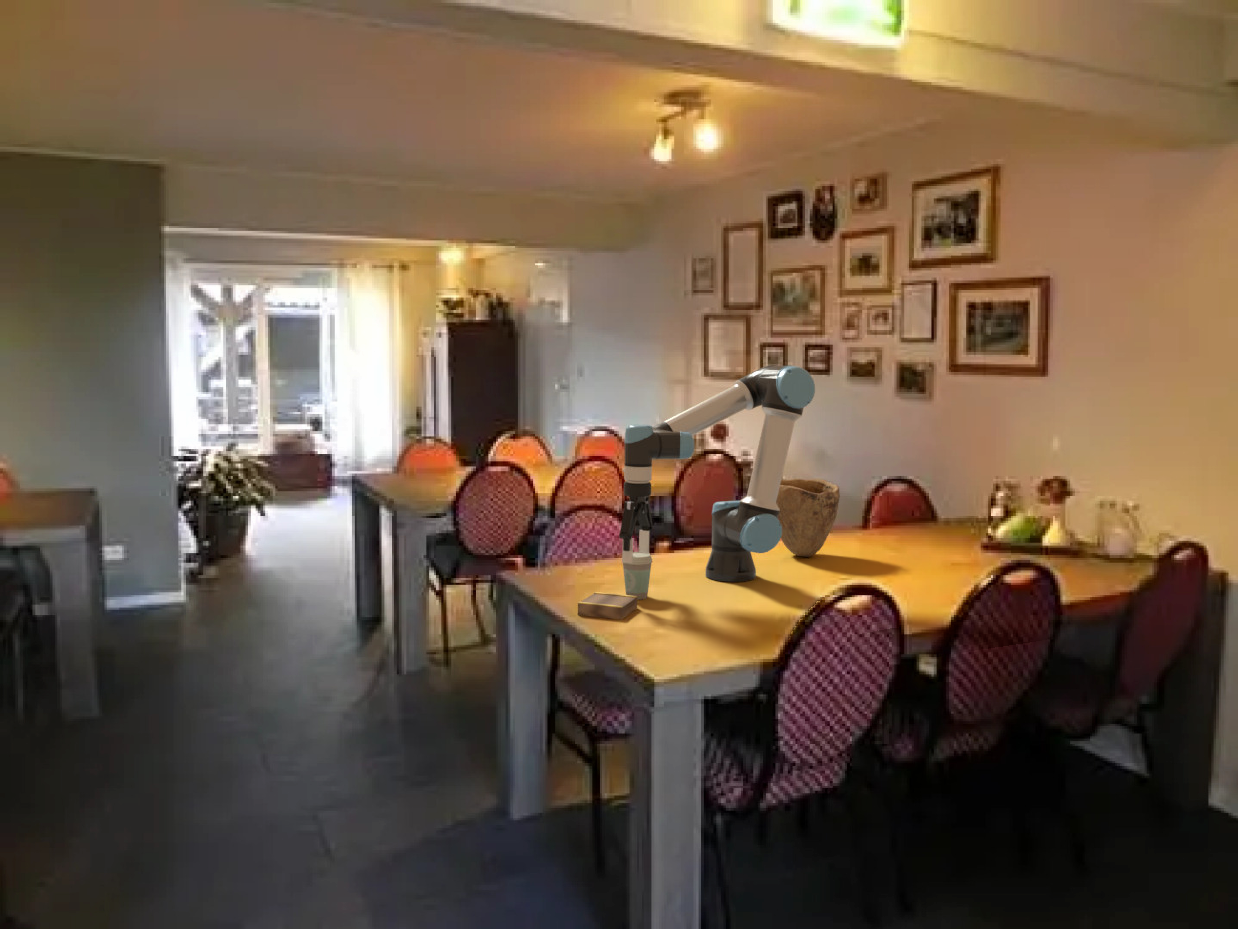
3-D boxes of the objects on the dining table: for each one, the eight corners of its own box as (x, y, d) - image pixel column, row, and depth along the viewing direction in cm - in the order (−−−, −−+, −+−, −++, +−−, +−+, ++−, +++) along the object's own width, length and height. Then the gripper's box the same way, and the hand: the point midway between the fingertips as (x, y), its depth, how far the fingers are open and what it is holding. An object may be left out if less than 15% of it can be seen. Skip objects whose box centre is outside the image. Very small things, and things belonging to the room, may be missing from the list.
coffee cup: (620, 593, 281) (620, 551, 280) (650, 593, 282) (650, 551, 281) (622, 601, 273) (623, 558, 272) (653, 600, 274) (654, 557, 272)
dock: (637, 608, 266) (637, 596, 266) (621, 619, 255) (621, 607, 254) (595, 603, 270) (595, 591, 270) (577, 614, 259) (577, 602, 259)
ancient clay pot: (805, 567, 317) (808, 488, 314) (754, 555, 334) (755, 480, 331) (851, 558, 331) (853, 482, 328) (799, 547, 348) (801, 475, 345)
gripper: (639, 475, 287) (638, 548, 289) (608, 485, 263) (606, 565, 266) (664, 477, 284) (662, 551, 286) (635, 487, 261) (633, 567, 263)
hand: (635, 558), depth 276 cm, fingers open, 13 cm apart
